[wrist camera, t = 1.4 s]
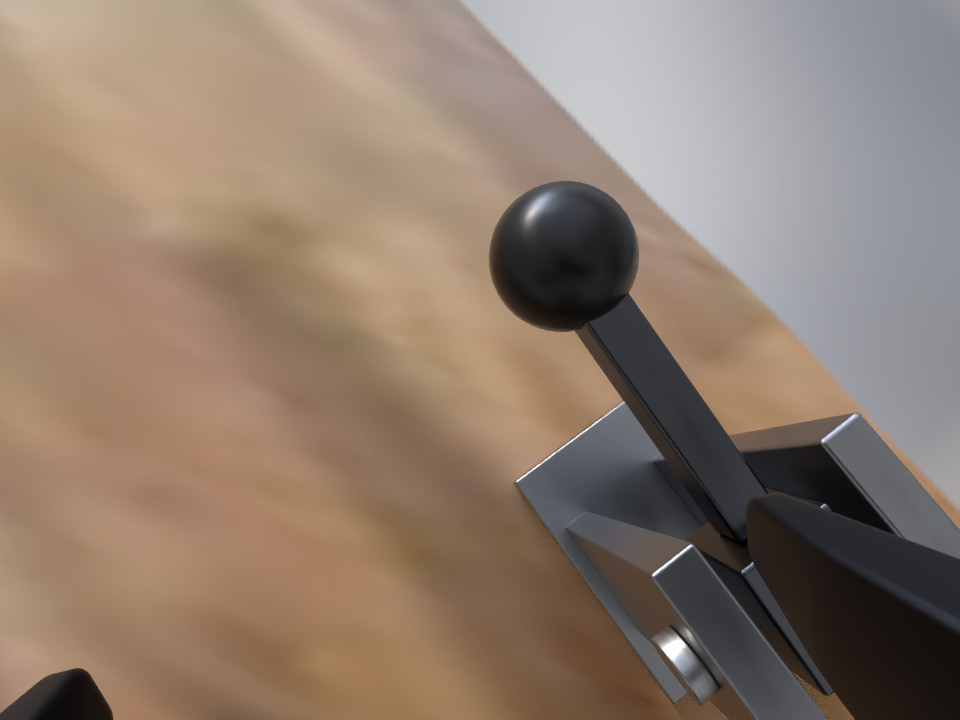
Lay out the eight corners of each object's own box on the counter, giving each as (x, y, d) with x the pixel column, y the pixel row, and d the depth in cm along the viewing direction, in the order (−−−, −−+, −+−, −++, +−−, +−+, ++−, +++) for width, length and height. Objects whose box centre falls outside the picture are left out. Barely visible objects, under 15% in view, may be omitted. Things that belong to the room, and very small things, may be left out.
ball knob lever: (455, 256, 13) (465, 214, 10) (561, 185, 13) (601, 124, 10) (732, 649, 13) (823, 724, 10) (829, 567, 13) (946, 617, 10)
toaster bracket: (512, 481, 22) (547, 484, 10) (635, 391, 23) (796, 298, 11) (663, 692, 20) (899, 969, 9) (789, 587, 21) (1162, 718, 10)
